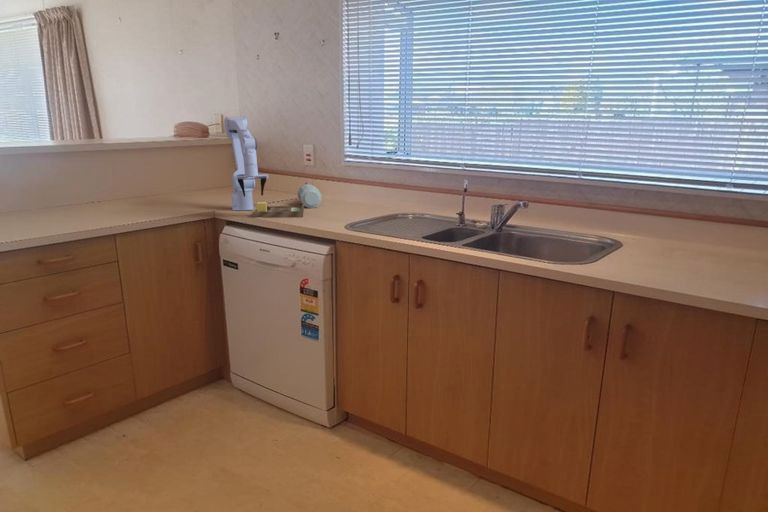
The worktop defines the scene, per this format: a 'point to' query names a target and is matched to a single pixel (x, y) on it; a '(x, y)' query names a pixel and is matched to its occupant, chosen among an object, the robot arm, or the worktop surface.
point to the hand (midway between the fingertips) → (253, 195)
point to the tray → (281, 211)
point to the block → (261, 206)
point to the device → (309, 195)
